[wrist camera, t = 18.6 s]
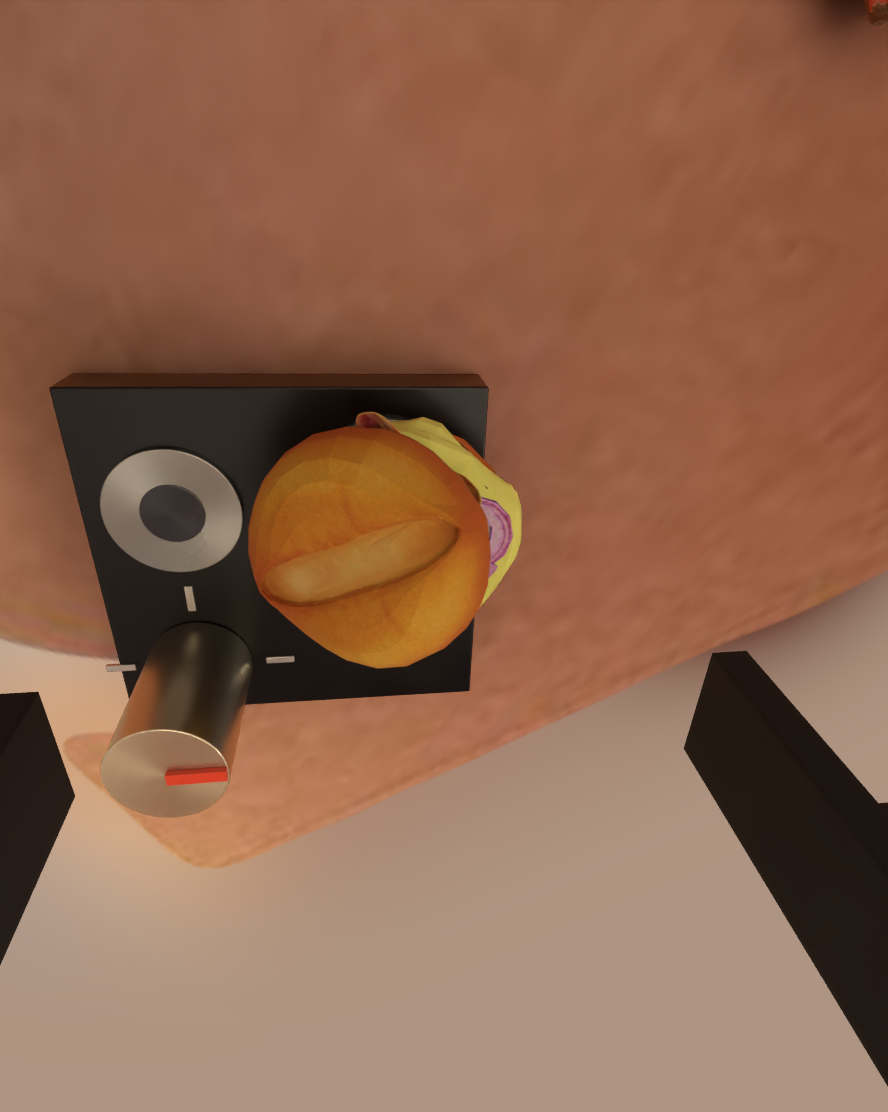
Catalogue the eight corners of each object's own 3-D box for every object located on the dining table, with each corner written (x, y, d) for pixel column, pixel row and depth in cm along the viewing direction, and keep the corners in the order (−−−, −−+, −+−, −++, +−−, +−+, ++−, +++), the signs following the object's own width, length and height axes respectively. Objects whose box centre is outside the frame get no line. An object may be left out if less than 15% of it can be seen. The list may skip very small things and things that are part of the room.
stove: (56, 372, 28) (30, 388, 26) (479, 373, 30) (489, 387, 28) (139, 704, 37) (125, 737, 35) (461, 685, 39) (468, 715, 37)
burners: (82, 418, 27) (77, 422, 26) (480, 416, 29) (482, 419, 28) (123, 592, 31) (120, 597, 30) (471, 579, 33) (472, 583, 32)
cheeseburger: (437, 642, 34) (412, 771, 24) (259, 528, 32) (161, 619, 23) (559, 489, 30) (584, 572, 21) (366, 352, 29) (301, 376, 19)
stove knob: (160, 703, 34) (112, 829, 27) (141, 624, 32) (83, 739, 25) (258, 697, 35) (235, 818, 28) (246, 619, 32) (219, 730, 25)
